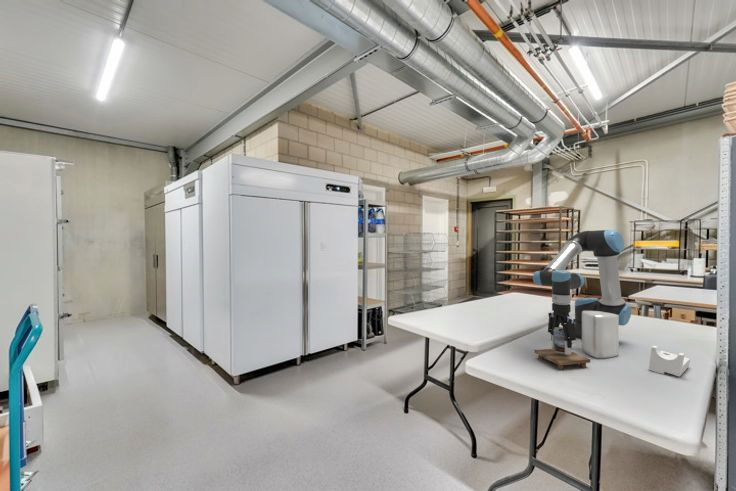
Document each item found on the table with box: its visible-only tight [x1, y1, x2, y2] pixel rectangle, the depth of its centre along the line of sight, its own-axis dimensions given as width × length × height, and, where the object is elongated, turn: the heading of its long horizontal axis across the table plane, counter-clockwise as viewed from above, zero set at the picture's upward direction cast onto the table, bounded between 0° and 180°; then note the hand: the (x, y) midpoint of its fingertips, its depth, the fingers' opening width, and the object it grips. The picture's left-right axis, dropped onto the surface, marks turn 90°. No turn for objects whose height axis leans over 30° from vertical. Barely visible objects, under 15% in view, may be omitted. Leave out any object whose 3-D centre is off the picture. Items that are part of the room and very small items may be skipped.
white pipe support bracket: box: [648, 344, 691, 378], centre depth 141 cm, size 18×10×10 cm, turn 126°
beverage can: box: [554, 326, 566, 353], centre depth 150 cm, size 6×7×12 cm
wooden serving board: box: [534, 348, 591, 371], centre depth 150 cm, size 16×16×4 cm
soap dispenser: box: [581, 311, 620, 359], centre depth 159 cm, size 15×14×22 cm
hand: (561, 351), depth 150 cm, fingers closed on beverage can, 7 cm apart
